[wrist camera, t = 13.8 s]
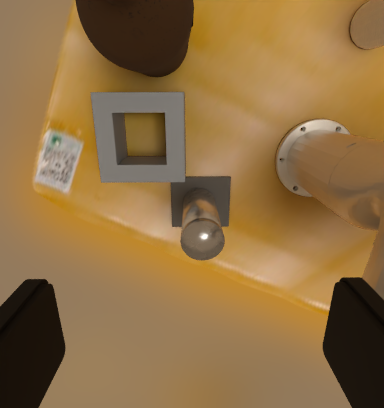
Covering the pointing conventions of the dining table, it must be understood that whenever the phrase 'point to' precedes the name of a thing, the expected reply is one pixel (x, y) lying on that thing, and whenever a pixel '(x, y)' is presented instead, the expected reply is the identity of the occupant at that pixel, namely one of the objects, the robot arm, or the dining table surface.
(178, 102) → the housing
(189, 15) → the olive oil
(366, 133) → the dining table surface
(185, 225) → the silver metallic cylinder
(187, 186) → the mat
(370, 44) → the paper towel roll
